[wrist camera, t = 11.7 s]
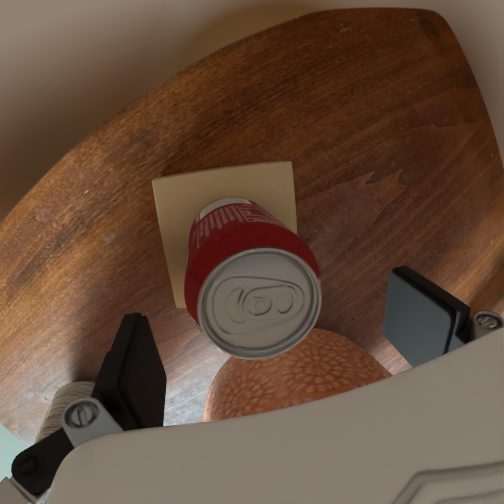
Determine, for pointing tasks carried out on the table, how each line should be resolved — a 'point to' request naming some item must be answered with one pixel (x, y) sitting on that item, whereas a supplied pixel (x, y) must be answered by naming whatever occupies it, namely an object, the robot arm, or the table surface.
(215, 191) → the oak block
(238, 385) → the planter
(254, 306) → the soda can
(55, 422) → the vase
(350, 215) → the table surface
